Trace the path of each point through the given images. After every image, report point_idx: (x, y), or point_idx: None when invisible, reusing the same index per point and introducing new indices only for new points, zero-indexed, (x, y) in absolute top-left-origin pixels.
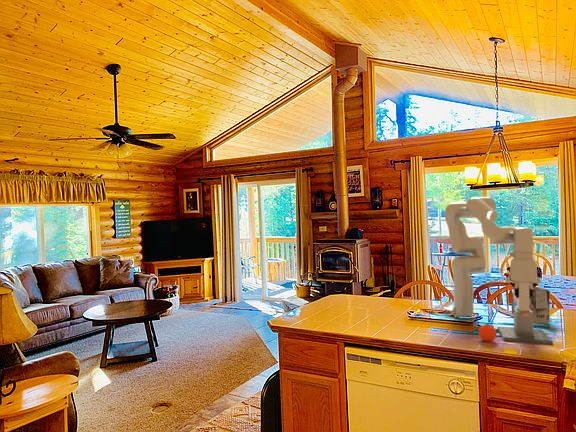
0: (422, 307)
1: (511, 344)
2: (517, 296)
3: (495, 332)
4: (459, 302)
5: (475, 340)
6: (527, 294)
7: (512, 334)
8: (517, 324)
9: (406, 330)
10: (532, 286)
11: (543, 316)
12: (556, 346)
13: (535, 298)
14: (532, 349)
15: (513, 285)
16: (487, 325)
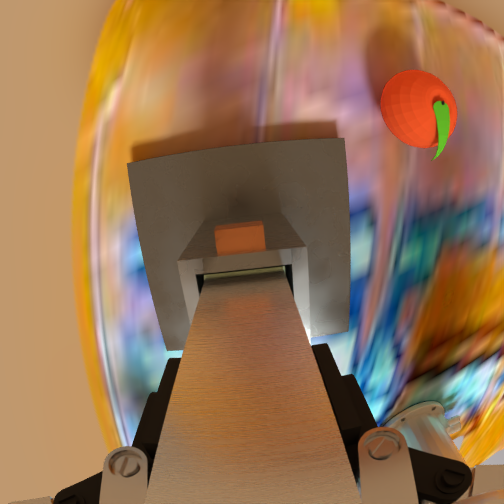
0: (468, 440)
1: (309, 88)
2: (325, 351)
3: (393, 83)
4: (448, 442)
5: None
6: (200, 377)
7: (301, 206)
8: (284, 224)
9: None
10: (108, 481)
11: None
12: (122, 138)
13: None
14: (226, 45)
15: (417, 466)
16: (440, 101)
